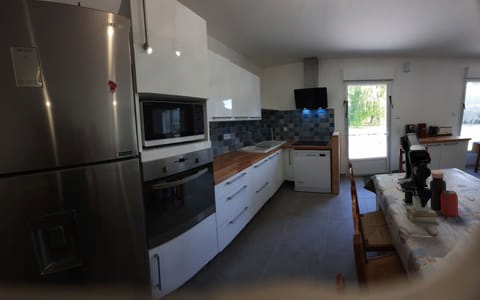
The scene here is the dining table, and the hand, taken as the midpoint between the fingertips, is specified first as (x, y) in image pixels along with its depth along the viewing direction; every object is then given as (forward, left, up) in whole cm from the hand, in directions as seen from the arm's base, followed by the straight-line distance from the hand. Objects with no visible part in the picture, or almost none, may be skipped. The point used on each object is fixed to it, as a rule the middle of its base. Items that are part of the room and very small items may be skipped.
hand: (420, 204), depth 120 cm
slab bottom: (0, 0, -7) cm, 7 cm away
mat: (0, 0, -8) cm, 8 cm away
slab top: (0, 0, -5) cm, 5 cm away
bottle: (-15, +12, -8) cm, 21 cm away
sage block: (0, 0, -2) cm, 2 cm away
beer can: (-7, +14, -8) cm, 17 cm away
